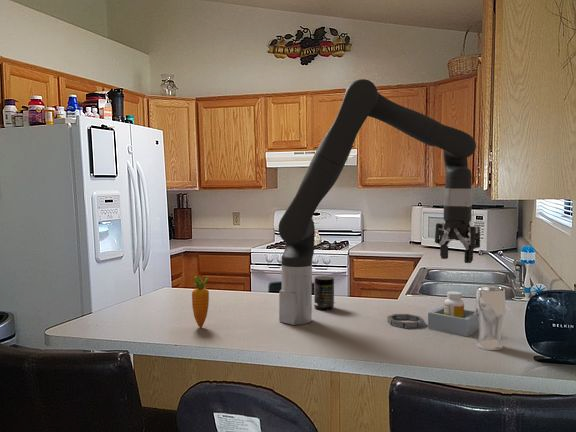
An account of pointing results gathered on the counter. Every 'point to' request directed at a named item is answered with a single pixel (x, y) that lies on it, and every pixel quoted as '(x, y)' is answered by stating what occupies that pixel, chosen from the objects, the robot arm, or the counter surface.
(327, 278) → the supplement container
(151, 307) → the counter surface
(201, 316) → the carrot
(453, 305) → the supplement bottle
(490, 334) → the beer glass
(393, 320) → the collar
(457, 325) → the bin
